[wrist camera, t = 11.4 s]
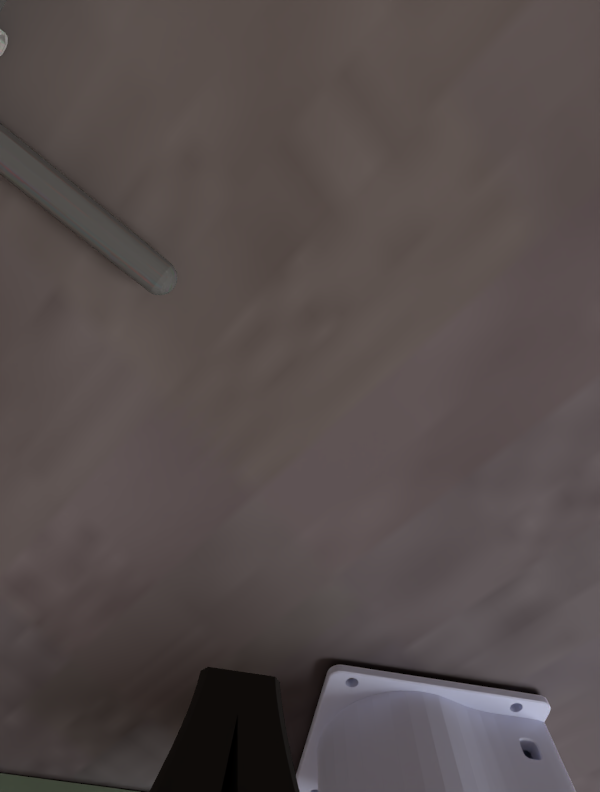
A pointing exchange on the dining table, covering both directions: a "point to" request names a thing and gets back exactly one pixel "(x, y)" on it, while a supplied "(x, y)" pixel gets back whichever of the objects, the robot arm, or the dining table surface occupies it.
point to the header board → (47, 785)
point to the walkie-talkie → (82, 211)
